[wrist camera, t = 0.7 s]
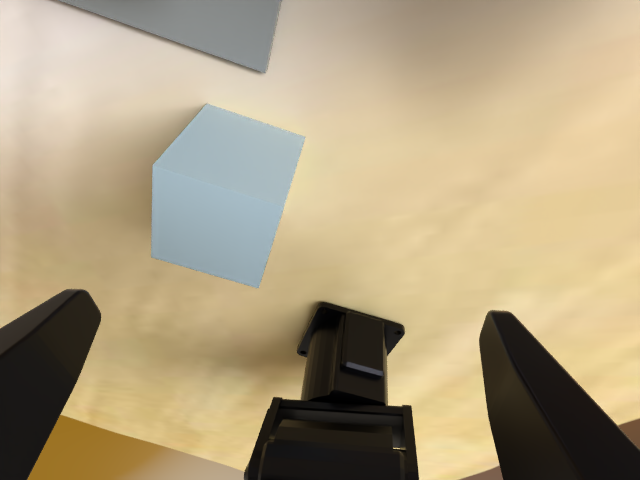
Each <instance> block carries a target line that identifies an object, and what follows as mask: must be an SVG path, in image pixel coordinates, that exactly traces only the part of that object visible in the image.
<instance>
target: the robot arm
mask: <svg viewBox="0 0 640 480" xmlns="http://www.w3.org/2000/svg"><path fill="white" fill-rule="evenodd" d="M100 322H101V313H100V310H99V309H98V307H97V306H96V304H95V302H94V301H93V299H92V297H91V296H90V294H89V293H88V292H87V291H86V290H83V289H67V290H64V291H62V292H61V293H59V294H57V295H56V296H54V297H52V298H51V299H49V300H47V301H46V302H44V303H42V304H41V305H39V306H37V307H36V308H34V309H32V310H30V311H29V312H27V313H25V314H24V315H22V316H20V317H19V318H17V319H15V320H14V321H12V322H10V323H9V324H7V325H5V326H4V327H2V328H0V480H27V479H28V477H29V475H30V473H31V471H32V469H33V467H34V465H35V463H36V461H37V459H38V457H39V455H40V453H41V451H42V449H43V447H44V445H45V443H46V441H47V439H48V438H49V435H50V433H51V432H52V430H53V428H54V426H55V424H56V422H57V420H58V418H59V416H60V414H61V412H62V410H63V408H64V406H65V404H66V402H67V400H68V398H69V396H70V394H71V393H72V391H73V388H74V386H75V384H76V382H77V380H78V378H79V375H80V373H81V370H82V368H83V365H84V363H85V360H86V358H87V355H88V353H89V350H90V347H91V345H92V342H93V340H94V337H95V335H96V332H97V330H98V327H99V325H100ZM404 334H405V328H404V326H403V325H401V324H398V323H394V322H391V321H388V320H384V319H381V318H377V317H374V316H370V315H367V314H364V313H360V312H357V311H353V310H350V309H346V308H343V307H339V306H336V305H333V304H329V303H325V302H323V303H320V304H319V305H318V306H317V308H316V310H315V312H314V314H313V316H312V319H311V321H310V323H309V325H308V327H307V329H306V331H305V333H304V335H303V337H302V339H301V341H300V343H299V345H298V349H297V353H298V354H299V355H301V356H304V357H307V362H306V368H305V375H304V381H303V387H302V394H301V400H289V399H282V398H280V397H273V400H272V403H271V406H270V409H268V410H267V413H266V416H265V419H264V421H263V424H262V427H261V430H260V433H259V436H258V439H257V441H256V444H255V447H254V450H253V453H252V456H251V459H250V461H249V463H248V465H247V467H246V469H245V472H244V480H419V475H418V464H417V454H416V445H415V436H414V427H413V417H412V408H411V405H402V406H388V388H387V356H388V355H389V353H390V352H391V351H392V349H393V348H394V347H395V346H396V344H397V343H398V342H399V341H400V339H401V338H402V337H403V336H404ZM479 345H480V354H481V362H482V370H483V378H484V387H485V395H486V403H487V410H488V417H489V421H490V426H491V431H492V435H493V439H494V443H495V447H496V451H497V455H498V460H499V464H500V468H501V472H502V476H503V480H640V449H639V448H638V447H637V446H636V445H635V444H634V443H633V442H632V441H631V440H630V439H629V437H627V435H626V434H625V433H624V432H623V431H622V430H621V429H620V428H619V427H618V426H617V425H616V424H615V422H614V421H613V420H612V419H611V418H610V417H609V416H608V415H607V414H606V413H605V412H604V411H603V410H602V409H601V408H600V406H599V405H598V404H597V403H596V402H595V401H594V400H593V399H592V398H591V397H590V396H589V395H588V394H587V393H586V391H585V390H584V389H583V388H582V387H581V386H580V385H579V384H578V383H577V382H576V381H575V380H574V379H573V378H572V377H571V375H570V374H569V373H568V372H567V371H566V370H565V369H564V368H563V367H562V366H561V365H560V364H559V363H558V362H557V361H556V359H555V358H554V357H553V356H552V355H551V354H550V353H549V352H548V351H547V350H546V349H545V348H544V347H543V346H542V345H541V343H540V342H539V341H538V340H537V339H536V338H535V337H534V336H533V335H532V334H531V333H530V332H529V331H528V330H527V329H526V327H525V326H524V325H523V324H522V323H521V322H520V321H519V320H518V319H517V318H516V317H515V316H514V315H513V314H512V313H511V312H509V311H496V310H491V311H489V312H488V313H487V315H486V318H485V321H484V324H483V327H482V330H481V333H480V338H479ZM393 448H400V449H393Z"/></svg>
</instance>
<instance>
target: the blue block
mask: <svg viewBox="0 0 640 480" xmlns="http://www.w3.org/2000/svg"><path fill="white" fill-rule="evenodd" d="M304 140H305V137H304V136H301V135H298V134H295V133H293V132H290V131H287V130H284V129H281V128H278V127H275V126H272V125H269V124H266V123H263V122H260V121H257V120H254V119H251V118H248V117H245V116H242V115H239V114H236V113H233V112H230V111H227V110H225V109H222V108H219V107H216V106H213V105H210V104H206V105H205V106H204V107H203V108H202V110H201V111H200V112H199V113H198V114H197V115H196V116H195V117H194V119H193V120H192V121H191V122H190V123H189V124H188V125H187V127H186V128H185V129H184V130H183V131H182V132H181V133H180V135H179V136H178V137H177V138H176V139H175V140H174V141H173V143H172V144H171V145H170V146H169V147H168V148H167V149H166V151H165V152H164V153H163V154H162V155H161V156H160V157H159V159H158V160H157V161H156V162H155V163H154V164H153V170H152V237H151V257H152V258H155V259H159V260H162V261H166V262H169V263H172V264H176V265H179V266H183V267H186V268H190V269H193V270H197V271H200V272H204V273H207V274H210V275H214V276H217V277H221V278H224V279H228V280H231V281H235V282H238V283H242V284H245V285H248V286H252V287H255V288H259V285H260V282H261V279H262V276H263V273H264V270H265V266H266V263H267V260H268V257H269V254H270V250H271V247H272V244H273V241H274V238H275V235H276V231H277V228H278V225H279V222H280V219H281V215H282V212H283V209H284V206H285V202H286V199H287V196H288V193H289V189H290V186H291V183H292V180H293V176H294V173H295V170H296V167H297V163H298V160H299V157H300V153H301V150H302V147H303V144H304Z"/></svg>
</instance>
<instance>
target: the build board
mask: <svg viewBox="0 0 640 480" xmlns="http://www.w3.org/2000/svg"><path fill="white" fill-rule="evenodd" d="M59 1H62V2H65V3H67V4H70V5H73V6H76V7H79V8H82V9H84V10H87V11H90V12H93V13H96V14H99V15H101V16H104V17H107V18H110V19H113V20H116V21H118V22H121V23H124V24H127V25H130V26H133V27H135V28H138V29H141V30H144V31H147V32H150V33H152V34H155V35H158V36H161V37H164V38H167V39H169V40H172V41H175V42H178V43H181V44H184V45H186V46H189V47H192V48H195V49H198V50H201V51H203V52H206V53H209V54H212V55H215V56H218V57H220V58H223V59H226V60H229V61H232V62H235V63H237V64H240V65H243V66H246V67H249V68H252V69H255V70H257V71H260V72H263V73H266V71H267V68H268V63H269V58H270V54H271V49H272V44H273V39H274V34H275V29H276V25H277V20H278V15H279V10H280V5H281V0H59Z"/></svg>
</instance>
